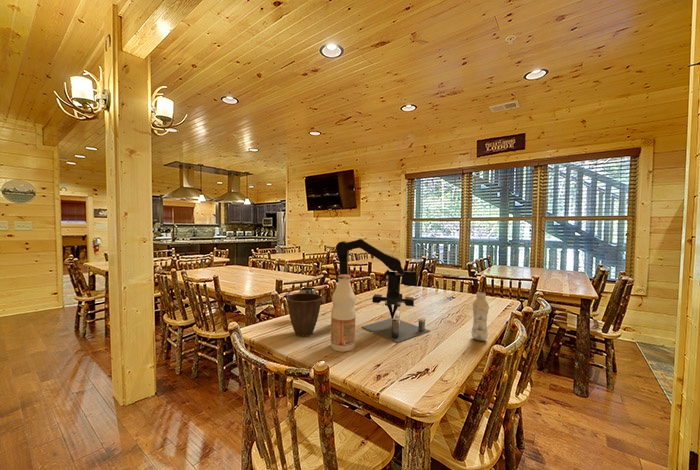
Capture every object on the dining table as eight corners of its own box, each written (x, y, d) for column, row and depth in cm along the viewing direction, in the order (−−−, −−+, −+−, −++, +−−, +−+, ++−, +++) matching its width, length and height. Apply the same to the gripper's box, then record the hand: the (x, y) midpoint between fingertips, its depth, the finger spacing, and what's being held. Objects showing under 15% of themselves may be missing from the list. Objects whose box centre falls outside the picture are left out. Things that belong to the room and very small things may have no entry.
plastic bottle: (486, 338, 124) (488, 292, 124) (488, 344, 118) (490, 295, 117) (470, 335, 126) (472, 290, 126) (471, 341, 120) (473, 294, 119)
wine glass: (308, 321, 140) (308, 291, 140) (295, 318, 144) (296, 288, 144) (318, 317, 147) (318, 288, 146) (306, 314, 151) (306, 286, 151)
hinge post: (395, 340, 120) (395, 322, 119) (389, 338, 122) (390, 320, 122) (400, 338, 121) (400, 321, 121) (394, 336, 124) (395, 319, 123)
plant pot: (279, 333, 124) (279, 296, 124) (306, 325, 135) (307, 291, 135) (300, 343, 114) (301, 303, 114) (328, 333, 125) (328, 297, 125)
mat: (397, 343, 117) (397, 342, 117) (361, 327, 134) (361, 326, 134) (429, 331, 131) (429, 330, 131) (393, 318, 148) (393, 317, 148)
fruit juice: (327, 350, 108) (328, 276, 108) (334, 340, 118) (336, 272, 117) (351, 353, 106) (353, 278, 105) (357, 343, 115) (358, 274, 114)
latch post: (422, 333, 128) (422, 320, 128) (417, 331, 130) (418, 318, 130) (425, 332, 130) (425, 319, 130) (420, 330, 132) (421, 317, 131)
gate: (397, 334, 123) (397, 320, 123) (393, 334, 124) (393, 320, 123) (399, 322, 138) (399, 310, 138) (396, 322, 139) (396, 310, 139)
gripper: (371, 286, 127) (369, 321, 128) (414, 290, 123) (412, 326, 124) (374, 282, 138) (373, 314, 139) (414, 285, 134) (412, 318, 135)
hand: (392, 318), depth 134 cm, fingers closed
